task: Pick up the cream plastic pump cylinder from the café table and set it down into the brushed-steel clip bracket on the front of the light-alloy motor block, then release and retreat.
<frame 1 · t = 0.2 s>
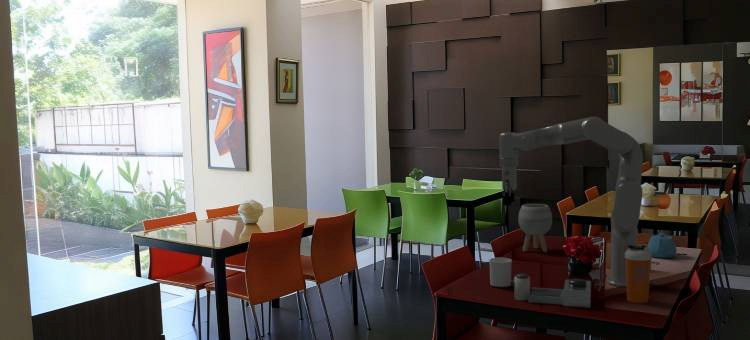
hand: (509, 203, 271), 31 cm above the table, fingers open, 9 cm apart
shaker bottle: (637, 301, 236), on the table
mug: (501, 285, 262), on the table
planter: (535, 251, 323), on the table
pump: (522, 298, 243), on the table
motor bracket: (561, 300, 239), on the table
teapot: (661, 257, 303), on the table
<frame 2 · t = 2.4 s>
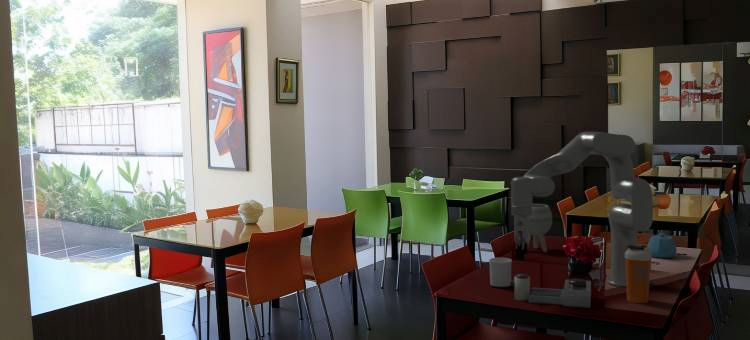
hand: (521, 256, 241), 16 cm above the table, fingers open, 9 cm apart
nothing on the table moved.
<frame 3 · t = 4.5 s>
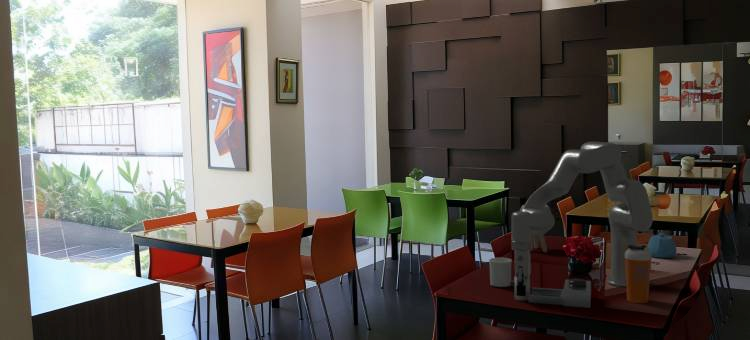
hand: (522, 292, 242), 2 cm above the table, fingers closed on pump, 5 cm apart
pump: (522, 298, 243), on the table, touching gripper
everything else where it was.
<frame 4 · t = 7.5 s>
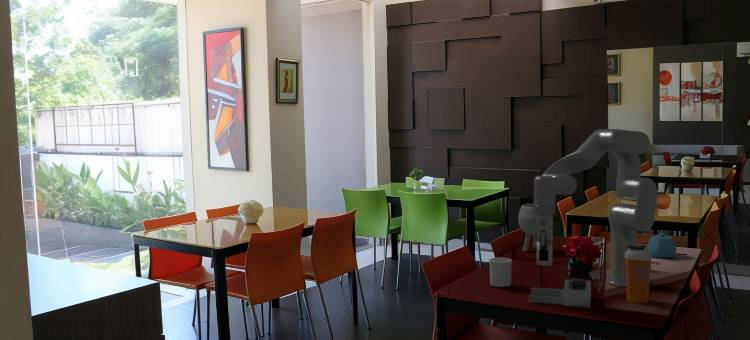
hand: (544, 258, 239), 15 cm above the table, fingers closed on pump, 5 cm apart
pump: (544, 263, 240), point 13 cm above the table, touching gripper
everything else where it was.
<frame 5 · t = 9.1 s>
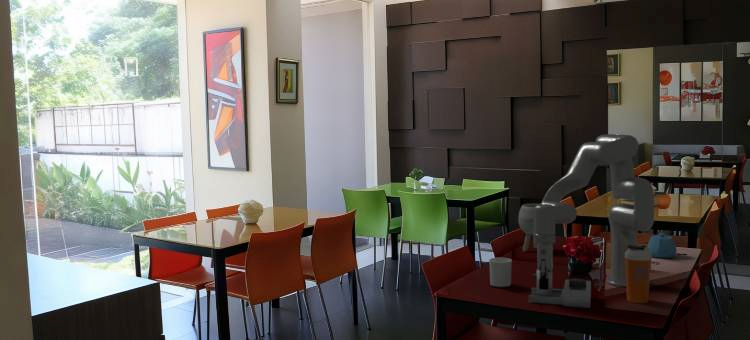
hand: (544, 286, 240), 5 cm above the table, fingers closed on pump, 5 cm apart
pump: (544, 291, 241), point 3 cm above the table, touching gripper
everything else where it was.
when the fingers open (3 cm above the table, at t = 10.3 s): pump drops 1 cm, on the table.
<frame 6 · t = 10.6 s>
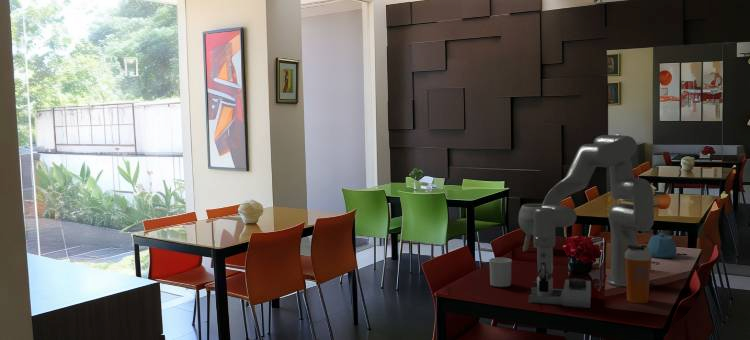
hand: (544, 288, 240), 4 cm above the table, fingers open, 8 cm apart
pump: (544, 299, 241), on the table
everything else where it was.
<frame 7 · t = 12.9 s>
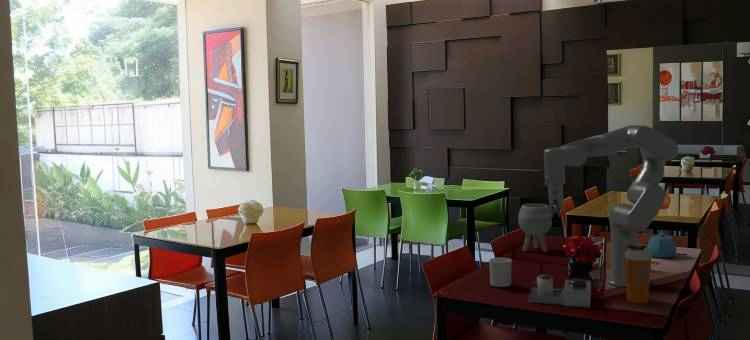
hand: (556, 224, 252), 25 cm above the table, fingers open, 9 cm apart
nothing on the table moved.
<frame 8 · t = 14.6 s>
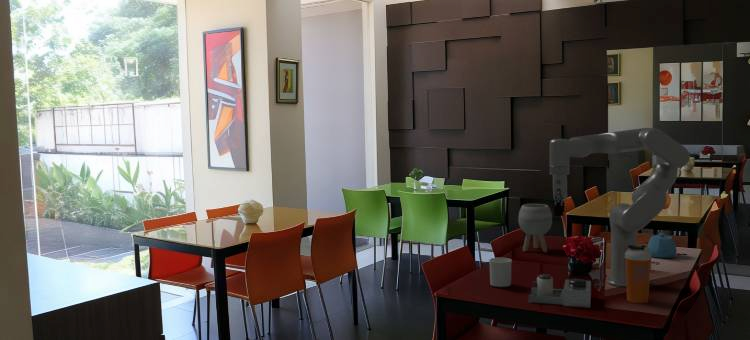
hand: (559, 213, 258), 28 cm above the table, fingers open, 9 cm apart
nothing on the table moved.
at the end: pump inside the target area on the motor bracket (0.4 cm from its centre), point 0.0 cm above the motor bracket's base; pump tilted 0°; the gripper is holding nothing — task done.
